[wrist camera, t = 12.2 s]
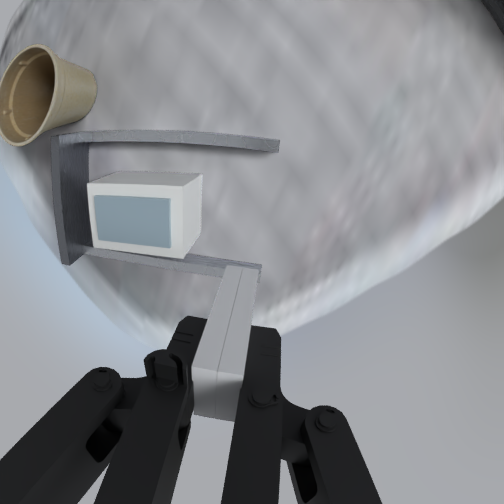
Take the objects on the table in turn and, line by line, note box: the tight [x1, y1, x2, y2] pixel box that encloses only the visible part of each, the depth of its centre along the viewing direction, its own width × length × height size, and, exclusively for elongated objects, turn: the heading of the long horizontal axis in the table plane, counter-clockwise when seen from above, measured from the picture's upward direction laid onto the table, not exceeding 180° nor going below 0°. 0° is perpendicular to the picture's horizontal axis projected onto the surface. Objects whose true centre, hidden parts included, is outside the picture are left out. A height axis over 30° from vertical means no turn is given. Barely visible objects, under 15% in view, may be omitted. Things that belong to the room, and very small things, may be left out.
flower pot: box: [0, 44, 97, 146], centre depth 19 cm, size 9×9×9 cm
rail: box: [51, 130, 280, 283], centre depth 25 cm, size 13×21×5 cm, turn 83°
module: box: [87, 171, 203, 259], centre depth 25 cm, size 6×9×6 cm, turn 86°
